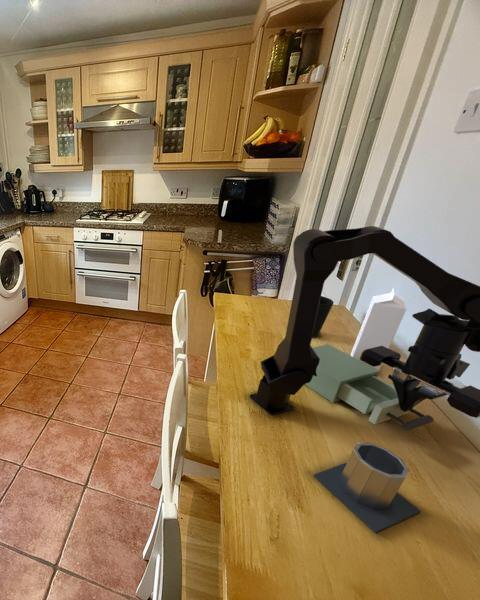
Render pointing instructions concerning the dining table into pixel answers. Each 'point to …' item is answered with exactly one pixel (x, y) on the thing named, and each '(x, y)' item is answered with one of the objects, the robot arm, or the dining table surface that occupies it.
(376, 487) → the tumbler
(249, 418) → the dining table surface
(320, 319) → the cup
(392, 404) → the drawer
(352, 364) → the sage green angled casing
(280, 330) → the dining table surface
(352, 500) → the pad
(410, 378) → the robot arm
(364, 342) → the milk
